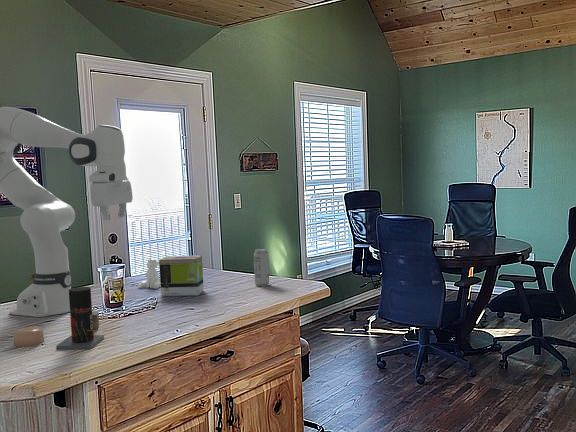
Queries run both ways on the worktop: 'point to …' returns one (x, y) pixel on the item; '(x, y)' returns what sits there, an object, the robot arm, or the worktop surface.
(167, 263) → the tea box
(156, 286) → the seated beast figurine
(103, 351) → the worktop surface
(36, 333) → the soap bar
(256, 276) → the energy drink can
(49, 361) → the worktop surface
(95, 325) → the walnut block
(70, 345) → the slate coaster
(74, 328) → the deodorant
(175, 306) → the worktop surface
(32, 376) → the worktop surface
